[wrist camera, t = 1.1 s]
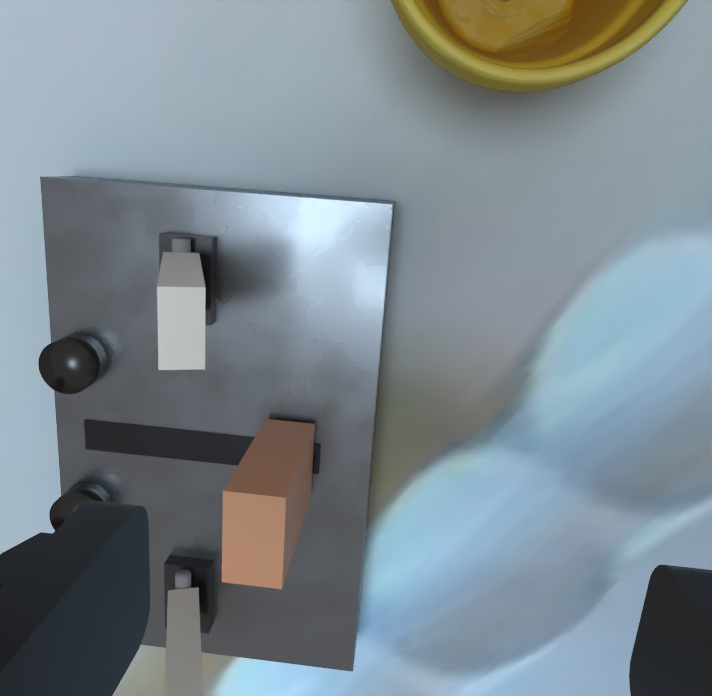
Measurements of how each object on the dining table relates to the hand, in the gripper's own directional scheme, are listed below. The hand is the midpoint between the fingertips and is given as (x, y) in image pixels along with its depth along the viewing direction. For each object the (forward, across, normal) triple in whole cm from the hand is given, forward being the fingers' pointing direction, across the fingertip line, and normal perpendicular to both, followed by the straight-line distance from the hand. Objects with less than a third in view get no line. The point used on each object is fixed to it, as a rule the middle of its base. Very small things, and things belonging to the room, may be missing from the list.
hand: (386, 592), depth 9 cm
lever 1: (+20, +10, 0) cm, 22 cm away
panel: (+24, +9, +8) cm, 27 cm away
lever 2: (+20, +10, +17) cm, 28 cm away
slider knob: (+21, +5, +9) cm, 23 cm away
